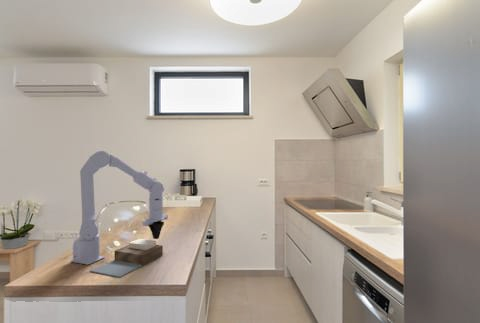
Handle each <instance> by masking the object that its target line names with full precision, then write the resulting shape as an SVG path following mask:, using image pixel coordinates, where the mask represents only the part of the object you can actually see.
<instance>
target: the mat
mask: <svg viewBox="0 0 480 323" xmlns="http://www.w3.org/2000/svg"><path fill="white" fill-rule="evenodd" d="M141 267H143V266H142V265H141V264H135V263H129V262H123V261H117V260H115V259H113V260H111V261H109V262H106V263H104V264H102V265H100V266H97V267H95V268H93V269H91V270H89V272H90V273H95V274H99V275H100V274H101V275H106V276H110V277H115V278H122V277H125V276H126V275H128V274H130V273H132V272H134V271H136V270H138V269H139V268H141Z"/></svg>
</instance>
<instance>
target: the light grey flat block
mask: <svg viewBox="0 0 480 323" xmlns="http://www.w3.org/2000/svg"><path fill="white" fill-rule="evenodd" d="M136 239H137V240H136ZM136 239H135V240H133V241H129V242H130V243H128V245H129V248H135V249H142V250H148V249H150V248H152V247H154V246H156V245H157V240H154V239H153V240H151V239H146V238H145V239H144V238H136Z"/></svg>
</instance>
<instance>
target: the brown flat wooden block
mask: <svg viewBox="0 0 480 323" xmlns="http://www.w3.org/2000/svg"><path fill="white" fill-rule="evenodd" d="M163 248H164V247H163V245H162V244H156V246H154V247H152V248H150V249H148V250H142V249H135V248H129V244H128V245H125V246H123V247H120V248H118V249H115V250H114V252H113V254H114V260H117V261H123V262H129V263H135V264H141V265H142V266H141V267H143V266H145V265H147V264H149V263H150V262H153V261H154V260H156V259H158V258H160V257H161V256H163V254H164V253H163Z"/></svg>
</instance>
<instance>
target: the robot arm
mask: <svg viewBox="0 0 480 323" xmlns="http://www.w3.org/2000/svg"><path fill="white" fill-rule="evenodd" d="M107 166H108V167H109V168H110V167H112V168H117V169H118V170H120V171H122V172H124V174H127V175H128V176H130V177H132V179H133V180H132V181H133V183H136V185H138V186H139V187H141V188H143V189H145V190H147V191H148V192H149V198H148V205H149V206H148V211H149V212H148V217H149V218H147V219H146V220H144V221H142V226H143V227H149V229H150V232H151V235H152V239H153V240H158V239H159V238H160V235H161V231H162V228H163V226H164V225H165V222H164V221H165V220H168V219H169V217H168V216H169V214H163V213H164V212H163V211H164V208H163V207H164V206H163V204H164V203H163V202H164V201H163V199H164V198H163V193H164V190H165V187H164V185H163V184H162V182H160V181H158V180H157V178H155V177H154V178H153V177H152V176H150V175H149V174H148V172H147V171H143V170H138V171H137V170H136V169H134V168H133V167H132V166H131V165H129V164H127V163H126V162H124V161H123V160H122V159H120V158H119V157H118V156H117V157H116V156H114V155H113V154H109V153H108V152H107V151H104V150H99V151H96V152H95V153H93V154H92V155H90V156H89V158H87V161H86V162H85V163H84V164H83V165H82V167H81V168H80V171H79V172H80V174H79V175H80V195H81V196H80V198H81V225H80V229H79V237H77V238H76V239H75V240H74V241H73V245H72V259H71V260H70V262H71V263H77V264H80V265H81V264H83V265H87V266H88V265H90V264H93V263H96V262H97V261H101V260H103V259H105V258H106V257H105V256H104V255H100V252H101V251H100V244H101V243H100V240H101V239H100V234H99V223H98V221H97V219H96V206H95V185H94V184H95V182H94V175H95V174H96V173H97V172H98V171H99V170H100V169H102V168H104V167H107Z"/></svg>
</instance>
